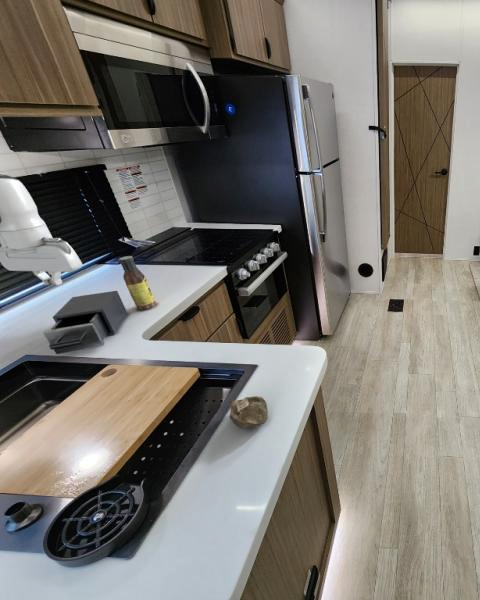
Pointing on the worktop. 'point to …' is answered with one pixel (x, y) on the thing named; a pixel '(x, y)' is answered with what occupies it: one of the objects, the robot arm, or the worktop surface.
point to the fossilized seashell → (249, 412)
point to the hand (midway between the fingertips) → (54, 284)
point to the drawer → (77, 333)
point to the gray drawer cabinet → (96, 308)
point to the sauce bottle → (137, 284)
